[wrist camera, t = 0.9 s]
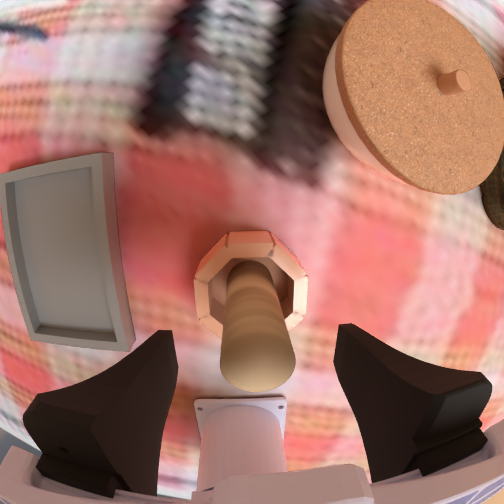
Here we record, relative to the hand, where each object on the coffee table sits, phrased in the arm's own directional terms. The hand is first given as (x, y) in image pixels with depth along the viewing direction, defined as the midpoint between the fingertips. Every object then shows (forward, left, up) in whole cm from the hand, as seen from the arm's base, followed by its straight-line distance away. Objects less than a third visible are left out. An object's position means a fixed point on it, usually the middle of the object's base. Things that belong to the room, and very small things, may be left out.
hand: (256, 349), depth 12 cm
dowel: (0, 0, -8) cm, 8 cm away
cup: (0, 0, -9) cm, 9 cm away
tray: (+2, +14, -9) cm, 16 cm away
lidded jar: (+12, -9, -9) cm, 17 cm away
